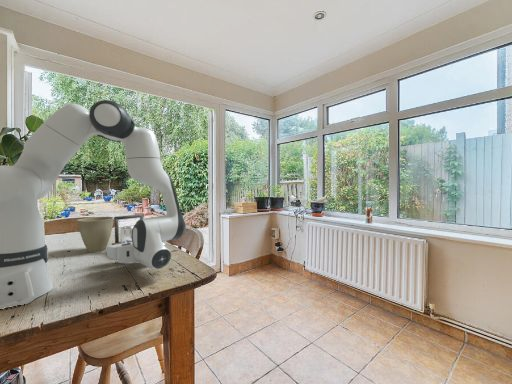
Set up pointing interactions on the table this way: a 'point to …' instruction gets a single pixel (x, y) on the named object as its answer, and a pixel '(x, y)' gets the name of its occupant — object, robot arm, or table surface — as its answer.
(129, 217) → the dolly
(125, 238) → the beer glass
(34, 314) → the table surface
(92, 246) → the plant pot
